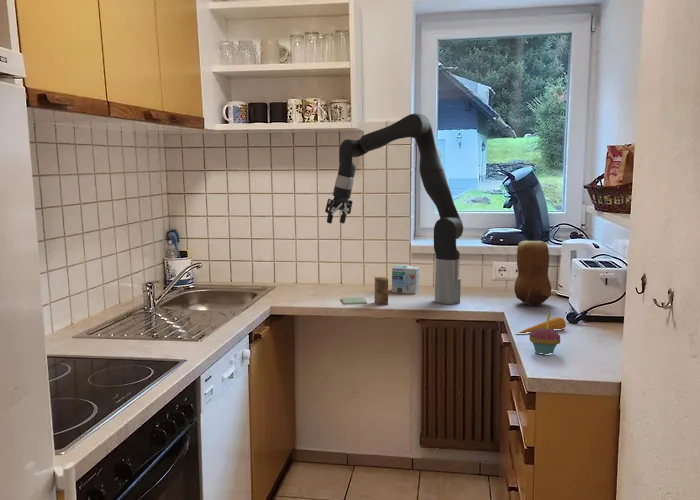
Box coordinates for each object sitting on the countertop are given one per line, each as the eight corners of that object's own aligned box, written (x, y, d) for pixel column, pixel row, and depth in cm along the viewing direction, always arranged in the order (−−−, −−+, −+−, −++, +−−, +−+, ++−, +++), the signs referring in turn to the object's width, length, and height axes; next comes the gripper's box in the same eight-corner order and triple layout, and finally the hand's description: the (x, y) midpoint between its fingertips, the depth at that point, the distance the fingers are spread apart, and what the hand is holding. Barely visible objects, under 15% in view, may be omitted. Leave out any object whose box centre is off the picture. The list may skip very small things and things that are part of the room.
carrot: (561, 330, 196) (557, 317, 196) (569, 328, 191) (565, 315, 192) (510, 342, 189) (506, 329, 190) (518, 341, 185) (514, 327, 185)
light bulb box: (391, 292, 249) (391, 267, 247) (394, 289, 255) (395, 264, 254) (416, 294, 246) (416, 268, 244) (419, 290, 252) (419, 266, 250)
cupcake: (535, 346, 175) (537, 307, 174) (564, 352, 170) (566, 311, 168) (524, 353, 169) (525, 312, 167) (553, 360, 163) (555, 317, 162)
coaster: (363, 298, 238) (363, 297, 238) (366, 303, 229) (366, 302, 229) (341, 299, 237) (341, 297, 236) (343, 304, 228) (343, 302, 228)
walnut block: (385, 302, 232) (386, 277, 230) (388, 304, 227) (388, 279, 226) (374, 302, 231) (374, 277, 229) (376, 305, 227) (376, 279, 225)
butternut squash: (530, 299, 237) (532, 237, 233) (557, 305, 225) (561, 240, 222) (505, 303, 229) (508, 239, 226) (533, 310, 218) (536, 243, 214)
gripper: (339, 188, 245) (331, 225, 248) (360, 189, 256) (352, 225, 259) (326, 183, 249) (318, 220, 253) (347, 185, 260) (339, 220, 264)
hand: (335, 223), depth 256 cm, fingers open, 8 cm apart
